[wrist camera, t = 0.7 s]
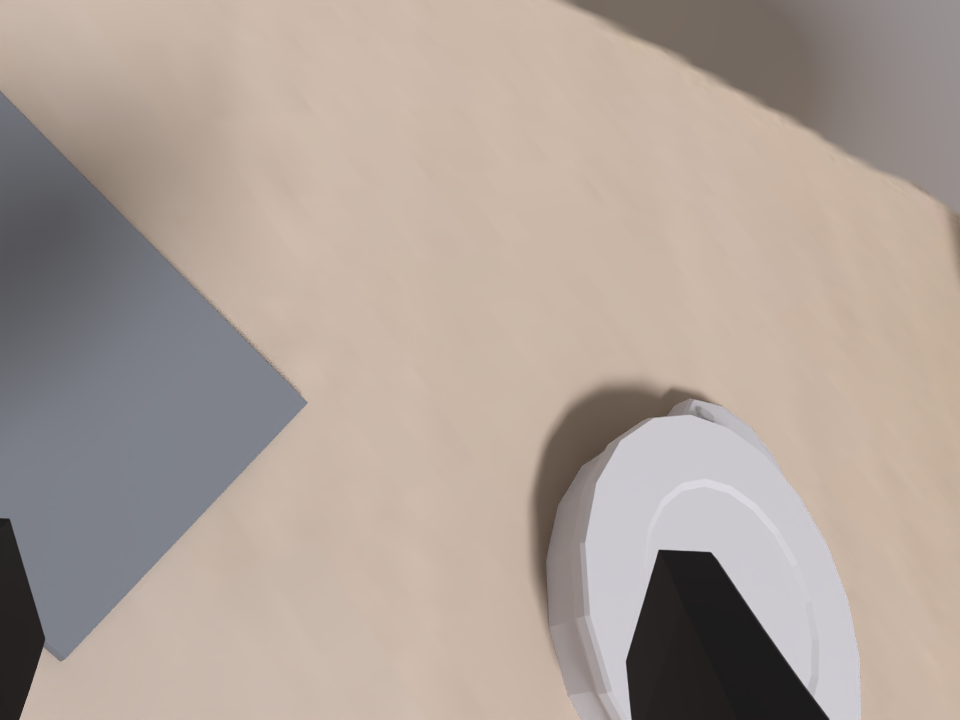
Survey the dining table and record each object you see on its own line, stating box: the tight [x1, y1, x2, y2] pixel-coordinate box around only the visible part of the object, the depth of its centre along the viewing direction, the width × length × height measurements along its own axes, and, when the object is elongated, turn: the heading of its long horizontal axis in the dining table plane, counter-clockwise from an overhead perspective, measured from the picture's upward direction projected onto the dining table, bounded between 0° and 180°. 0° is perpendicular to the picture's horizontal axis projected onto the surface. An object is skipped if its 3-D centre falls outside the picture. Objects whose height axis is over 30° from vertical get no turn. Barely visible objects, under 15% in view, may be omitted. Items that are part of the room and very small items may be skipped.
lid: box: [546, 398, 861, 720], centre depth 39 cm, size 17×20×3 cm
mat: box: [0, 92, 308, 661], centre depth 26 cm, size 11×15×1 cm
